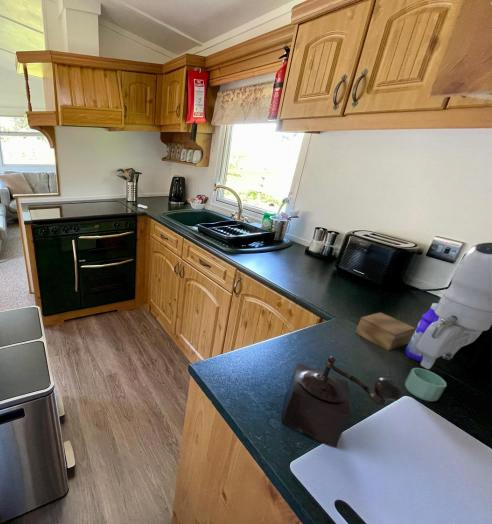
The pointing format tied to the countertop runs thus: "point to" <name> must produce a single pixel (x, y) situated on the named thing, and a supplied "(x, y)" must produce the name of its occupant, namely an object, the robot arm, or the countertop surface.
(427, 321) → the bottle
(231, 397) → the countertop surface
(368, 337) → the block
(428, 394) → the bowl
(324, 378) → the manual coffee grinder
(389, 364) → the countertop surface
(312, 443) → the countertop surface
